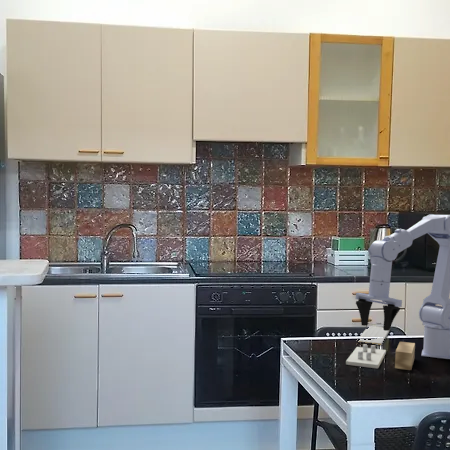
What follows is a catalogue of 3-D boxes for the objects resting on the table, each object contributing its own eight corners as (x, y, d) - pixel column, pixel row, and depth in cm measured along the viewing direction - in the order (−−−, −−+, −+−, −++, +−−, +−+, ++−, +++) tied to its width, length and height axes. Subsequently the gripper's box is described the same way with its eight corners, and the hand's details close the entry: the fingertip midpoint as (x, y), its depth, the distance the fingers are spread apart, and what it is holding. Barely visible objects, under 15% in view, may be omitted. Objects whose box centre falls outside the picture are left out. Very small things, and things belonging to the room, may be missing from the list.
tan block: (414, 359, 172) (414, 343, 172) (411, 370, 159) (411, 353, 159) (399, 357, 174) (399, 341, 173) (394, 368, 161) (395, 351, 160)
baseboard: (350, 344, 192) (381, 347, 188) (351, 336, 192) (381, 339, 188) (363, 328, 220) (390, 331, 216) (363, 321, 220) (390, 324, 216)
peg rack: (385, 353, 178) (386, 343, 178) (378, 368, 159) (378, 357, 159) (356, 349, 181) (357, 340, 181) (345, 364, 163) (346, 354, 163)
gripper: (351, 277, 169) (346, 323, 168) (393, 284, 158) (389, 333, 157) (365, 278, 173) (361, 323, 173) (407, 284, 162) (403, 332, 162)
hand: (375, 327), depth 165 cm, fingers open, 7 cm apart
